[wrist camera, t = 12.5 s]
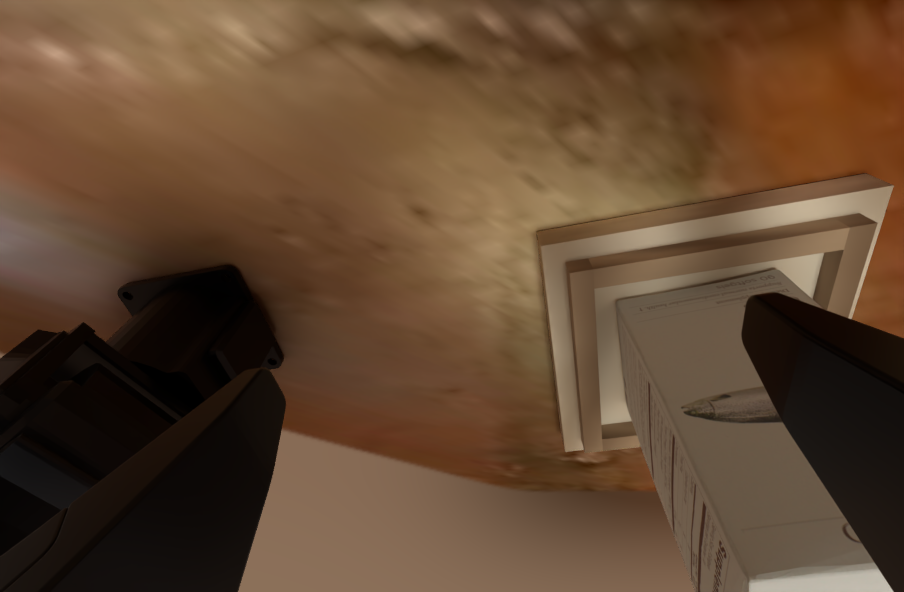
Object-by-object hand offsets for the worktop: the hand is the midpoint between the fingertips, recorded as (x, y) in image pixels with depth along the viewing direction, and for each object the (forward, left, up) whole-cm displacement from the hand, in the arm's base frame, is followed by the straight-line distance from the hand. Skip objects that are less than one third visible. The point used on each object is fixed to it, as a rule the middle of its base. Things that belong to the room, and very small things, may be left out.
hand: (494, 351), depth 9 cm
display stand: (+9, -11, -13) cm, 19 cm away
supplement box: (+9, -11, -12) cm, 18 cm away
